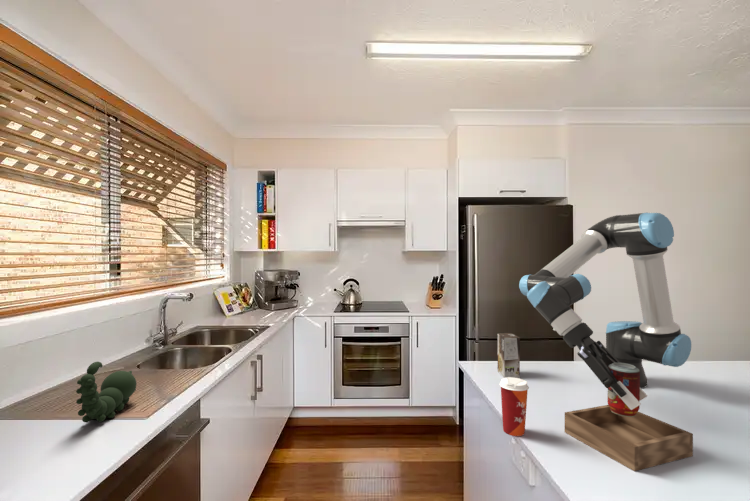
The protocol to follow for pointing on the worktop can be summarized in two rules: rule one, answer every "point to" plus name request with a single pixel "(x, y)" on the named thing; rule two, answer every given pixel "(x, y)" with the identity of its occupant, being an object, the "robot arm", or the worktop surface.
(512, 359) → the coffee box
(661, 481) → the worktop surface
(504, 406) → the paper cup
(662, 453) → the walnut box
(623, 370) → the soda can
